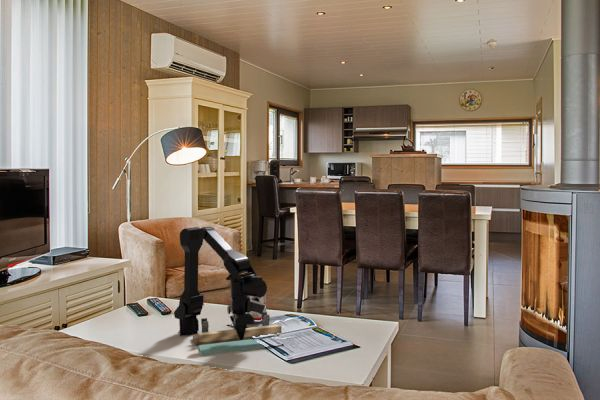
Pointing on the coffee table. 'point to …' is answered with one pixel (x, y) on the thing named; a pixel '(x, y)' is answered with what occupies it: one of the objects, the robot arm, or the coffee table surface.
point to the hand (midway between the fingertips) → (240, 338)
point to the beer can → (256, 314)
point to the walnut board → (197, 342)
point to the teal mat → (229, 347)
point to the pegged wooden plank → (264, 317)
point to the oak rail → (233, 334)
